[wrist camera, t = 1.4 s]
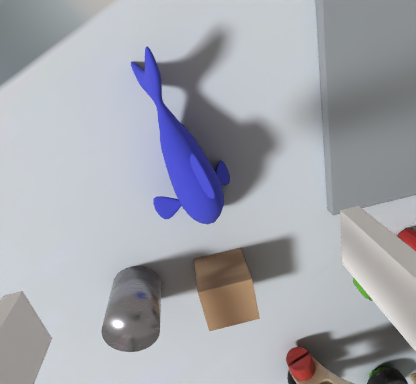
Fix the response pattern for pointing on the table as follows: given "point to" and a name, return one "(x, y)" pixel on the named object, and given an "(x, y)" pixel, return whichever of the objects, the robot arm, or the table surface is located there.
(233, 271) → the walnut block
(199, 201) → the fish toy
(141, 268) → the dark metal cylinder
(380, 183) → the slate plate
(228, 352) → the table surface
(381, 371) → the toy construction set
